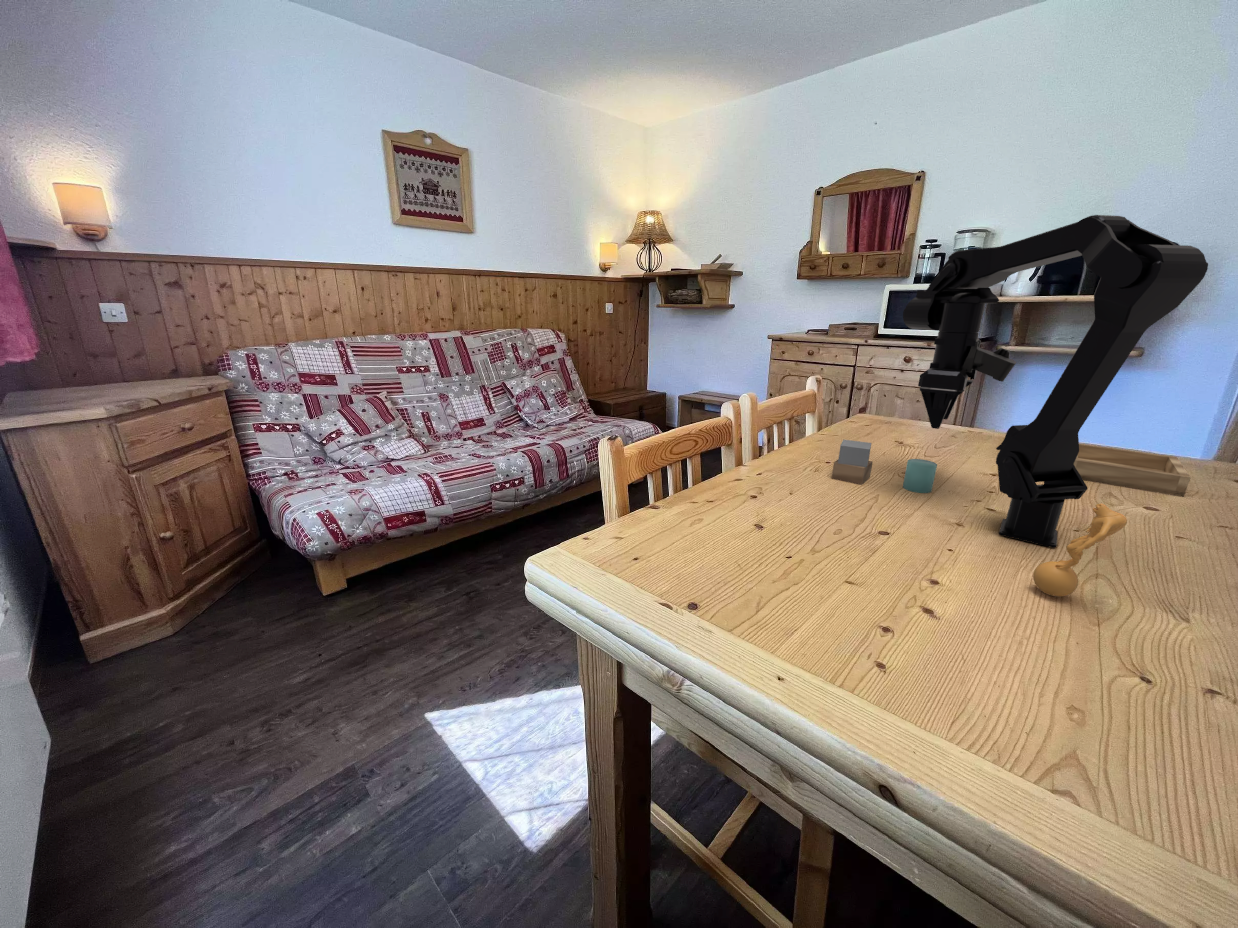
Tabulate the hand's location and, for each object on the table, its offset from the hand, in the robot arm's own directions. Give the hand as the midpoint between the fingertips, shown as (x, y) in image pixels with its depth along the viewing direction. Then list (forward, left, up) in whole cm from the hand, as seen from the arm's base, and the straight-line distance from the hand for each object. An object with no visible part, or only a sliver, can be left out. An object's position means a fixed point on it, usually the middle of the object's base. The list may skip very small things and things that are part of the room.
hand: (939, 423), depth 88 cm
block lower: (-3, +12, -12) cm, 18 cm away
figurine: (-30, -19, -12) cm, 38 cm away
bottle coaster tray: (+33, -27, -12) cm, 44 cm away
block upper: (-3, +12, -9) cm, 15 cm away
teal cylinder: (-1, +1, -12) cm, 12 cm away
